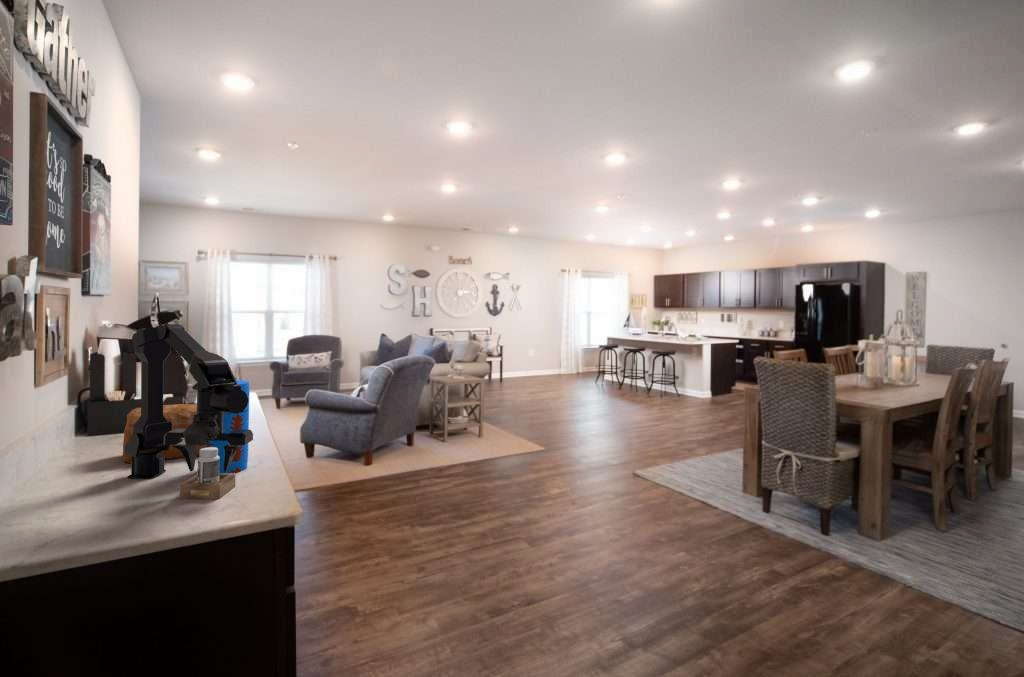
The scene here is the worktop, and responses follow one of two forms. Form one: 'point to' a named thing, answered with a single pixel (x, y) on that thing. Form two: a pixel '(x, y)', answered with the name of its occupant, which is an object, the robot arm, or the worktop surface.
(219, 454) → the thermos
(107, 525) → the worktop surface
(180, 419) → the bread
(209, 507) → the worktop surface
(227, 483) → the wooden tray
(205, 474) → the pill bottle
